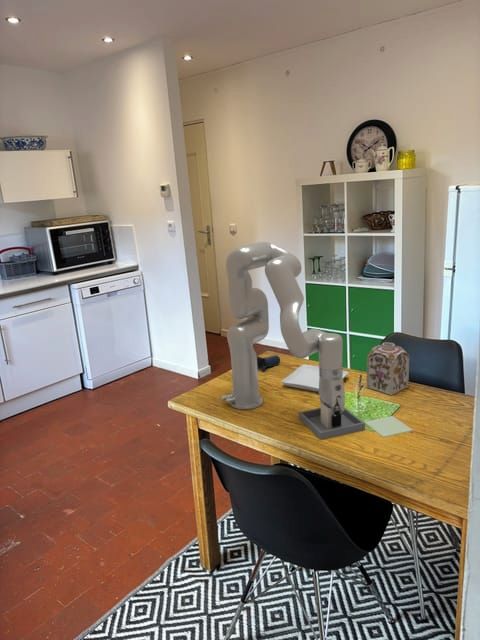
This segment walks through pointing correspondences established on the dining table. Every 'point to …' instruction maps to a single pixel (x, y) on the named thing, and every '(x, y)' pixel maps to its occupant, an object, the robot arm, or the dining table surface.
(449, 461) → the dining table surface
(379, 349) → the decorative jar
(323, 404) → the labelled box
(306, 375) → the salad plate
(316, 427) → the bin
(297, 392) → the dining table surface
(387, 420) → the mat
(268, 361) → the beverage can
